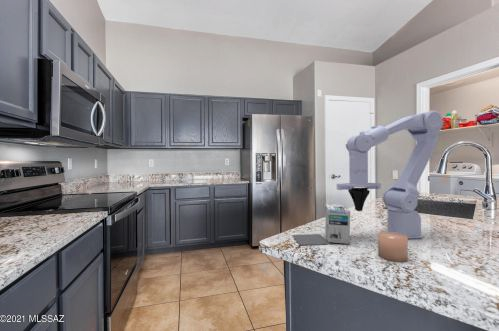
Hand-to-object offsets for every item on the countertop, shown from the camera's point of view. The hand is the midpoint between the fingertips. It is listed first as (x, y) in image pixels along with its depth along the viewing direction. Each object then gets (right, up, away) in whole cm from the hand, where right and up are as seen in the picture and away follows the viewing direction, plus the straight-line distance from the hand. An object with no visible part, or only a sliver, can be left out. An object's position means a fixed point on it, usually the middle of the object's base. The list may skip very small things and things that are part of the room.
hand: (358, 210), depth 82 cm
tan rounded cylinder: (+2, -10, -16) cm, 19 cm away
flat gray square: (-17, -10, -1) cm, 19 cm away
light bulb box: (-8, -10, 0) cm, 12 cm away
